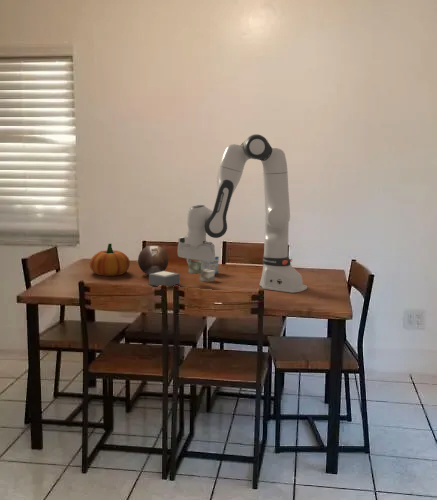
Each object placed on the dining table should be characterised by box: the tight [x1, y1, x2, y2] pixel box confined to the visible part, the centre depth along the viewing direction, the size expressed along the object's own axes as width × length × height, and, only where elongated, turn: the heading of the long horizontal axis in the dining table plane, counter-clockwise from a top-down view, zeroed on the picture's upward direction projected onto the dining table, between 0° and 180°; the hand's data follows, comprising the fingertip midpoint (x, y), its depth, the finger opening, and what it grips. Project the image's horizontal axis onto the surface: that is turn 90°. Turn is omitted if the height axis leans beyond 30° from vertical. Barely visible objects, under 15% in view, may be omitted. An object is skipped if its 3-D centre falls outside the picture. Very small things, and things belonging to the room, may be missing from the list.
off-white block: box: [199, 269, 216, 283], centre depth 295 cm, size 5×5×5 cm
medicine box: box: [204, 255, 220, 275], centre depth 310 cm, size 8×4×9 cm, turn 143°
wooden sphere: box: [137, 244, 169, 276], centre depth 303 cm, size 15×15×15 cm
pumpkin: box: [89, 243, 131, 277], centre depth 304 cm, size 19×19×15 cm
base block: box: [148, 270, 180, 287], centre depth 285 cm, size 10×10×5 cm
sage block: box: [188, 260, 203, 275], centre depth 287 cm, size 5×5×5 cm
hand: (195, 269), depth 287 cm, fingers closed on sage block, 5 cm apart
